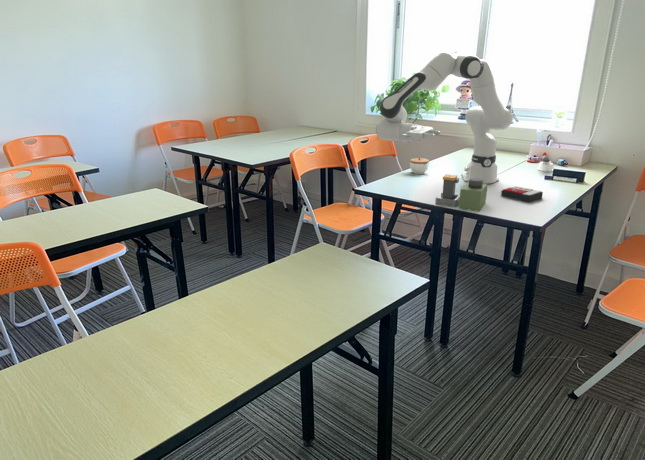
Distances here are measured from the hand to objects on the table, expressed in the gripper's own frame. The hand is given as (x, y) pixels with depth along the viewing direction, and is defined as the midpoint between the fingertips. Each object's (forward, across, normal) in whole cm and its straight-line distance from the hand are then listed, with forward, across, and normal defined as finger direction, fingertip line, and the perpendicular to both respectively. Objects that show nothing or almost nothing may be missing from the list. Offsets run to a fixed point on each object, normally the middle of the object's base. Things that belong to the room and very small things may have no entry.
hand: (437, 134), depth 218 cm
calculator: (+38, +18, +31) cm, 52 cm away
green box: (+20, -6, +30) cm, 37 cm away
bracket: (+9, -6, +30) cm, 32 cm away
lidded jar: (-22, +44, +30) cm, 57 cm away
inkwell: (+42, +79, +30) cm, 94 cm away
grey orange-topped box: (+9, -6, +30) cm, 32 cm away
